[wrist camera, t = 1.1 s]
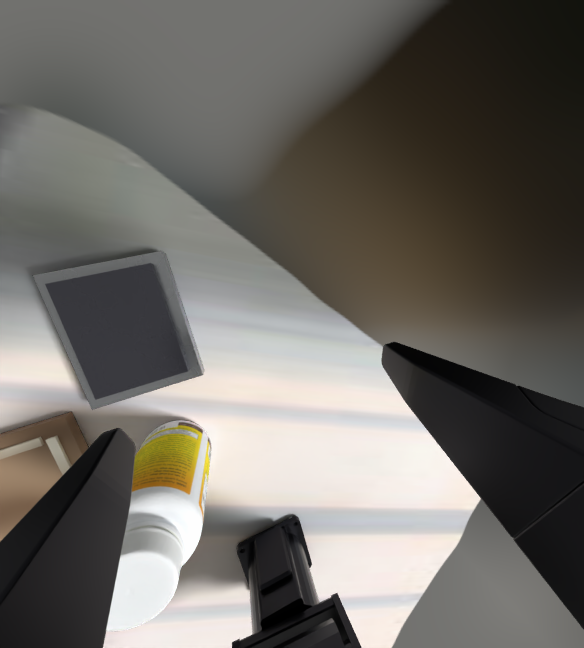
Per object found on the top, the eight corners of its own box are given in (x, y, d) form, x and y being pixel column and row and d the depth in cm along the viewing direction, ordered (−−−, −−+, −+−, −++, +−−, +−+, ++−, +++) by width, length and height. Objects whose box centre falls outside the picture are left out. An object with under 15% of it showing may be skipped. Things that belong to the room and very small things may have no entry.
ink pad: (204, 370, 20) (201, 377, 18) (100, 402, 18) (87, 413, 16) (165, 253, 18) (159, 249, 16) (46, 276, 16) (24, 274, 14)
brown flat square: (128, 534, 20) (123, 546, 19) (-48, 611, 17) (-64, 629, 16) (71, 411, 18) (62, 418, 17) (-140, 477, 15) (-166, 489, 14)
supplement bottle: (128, 439, 19) (19, 594, 9) (193, 405, 20) (158, 511, 10) (163, 488, 20) (101, 673, 10) (222, 454, 21) (217, 592, 11)
